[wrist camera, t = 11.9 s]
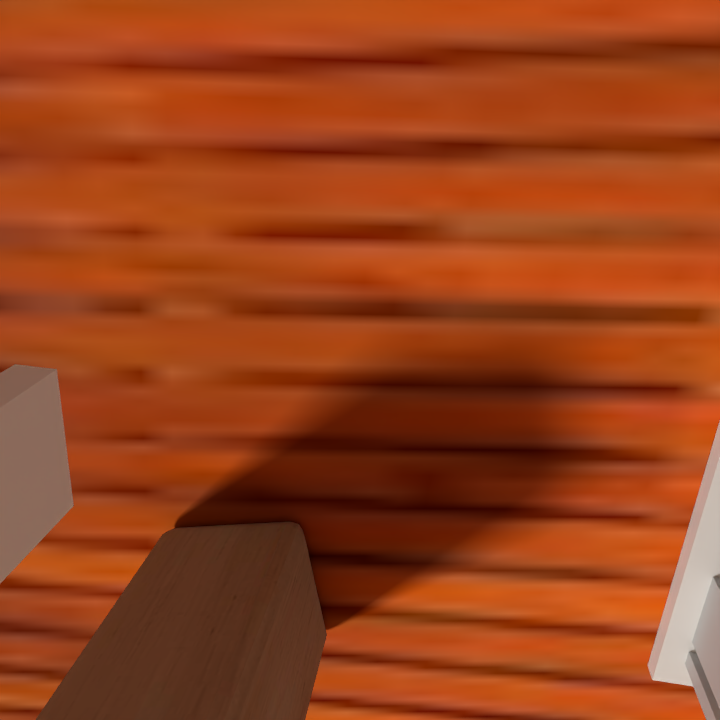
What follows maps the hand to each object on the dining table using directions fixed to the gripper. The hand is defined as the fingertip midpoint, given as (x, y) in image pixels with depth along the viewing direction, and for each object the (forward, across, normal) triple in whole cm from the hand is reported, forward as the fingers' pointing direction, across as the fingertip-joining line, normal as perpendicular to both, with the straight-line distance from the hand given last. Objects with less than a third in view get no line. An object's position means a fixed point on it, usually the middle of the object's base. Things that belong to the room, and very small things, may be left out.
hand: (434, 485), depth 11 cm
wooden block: (+27, -11, -26) cm, 39 cm away
